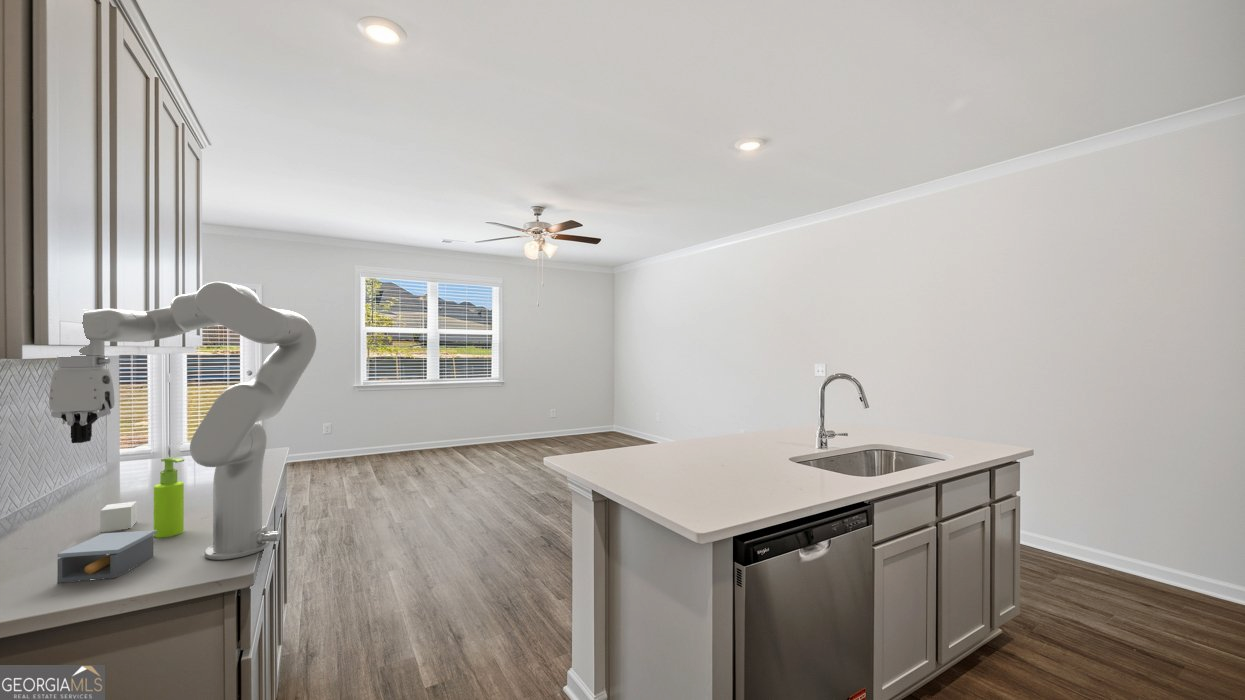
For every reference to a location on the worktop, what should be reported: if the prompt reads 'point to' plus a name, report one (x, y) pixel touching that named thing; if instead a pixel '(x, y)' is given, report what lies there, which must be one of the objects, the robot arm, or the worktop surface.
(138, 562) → the cable duct
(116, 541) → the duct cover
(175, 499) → the soap dispenser
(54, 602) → the worktop surface
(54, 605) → the worktop surface
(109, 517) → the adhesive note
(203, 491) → the worktop surface
